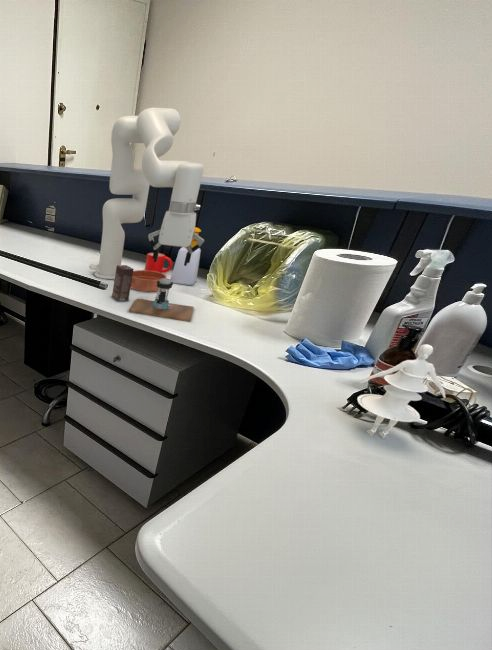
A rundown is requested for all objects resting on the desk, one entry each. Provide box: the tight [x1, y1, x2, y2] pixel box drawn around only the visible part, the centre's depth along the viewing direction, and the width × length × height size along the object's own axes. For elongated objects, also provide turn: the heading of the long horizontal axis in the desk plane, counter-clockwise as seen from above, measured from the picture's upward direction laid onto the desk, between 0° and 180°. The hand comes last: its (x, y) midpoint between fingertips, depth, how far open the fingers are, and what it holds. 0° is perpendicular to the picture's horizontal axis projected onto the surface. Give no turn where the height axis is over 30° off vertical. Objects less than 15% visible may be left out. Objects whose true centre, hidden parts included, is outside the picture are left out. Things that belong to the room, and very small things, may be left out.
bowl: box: [130, 269, 168, 293], centre depth 166 cm, size 15×15×5 cm
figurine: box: [356, 343, 446, 440], centre depth 77 cm, size 13×10×20 cm
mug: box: [144, 252, 173, 274], centre depth 185 cm, size 8×12×8 cm, turn 57°
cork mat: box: [128, 298, 194, 322], centre depth 143 cm, size 20×14×1 cm
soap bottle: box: [169, 226, 202, 286], centre depth 167 cm, size 10×14×22 cm
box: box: [111, 264, 135, 302], centre depth 151 cm, size 6×4×12 cm
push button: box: [153, 277, 174, 309], centre depth 140 cm, size 7×5×10 cm
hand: (170, 263), depth 135 cm, fingers open, 9 cm apart
